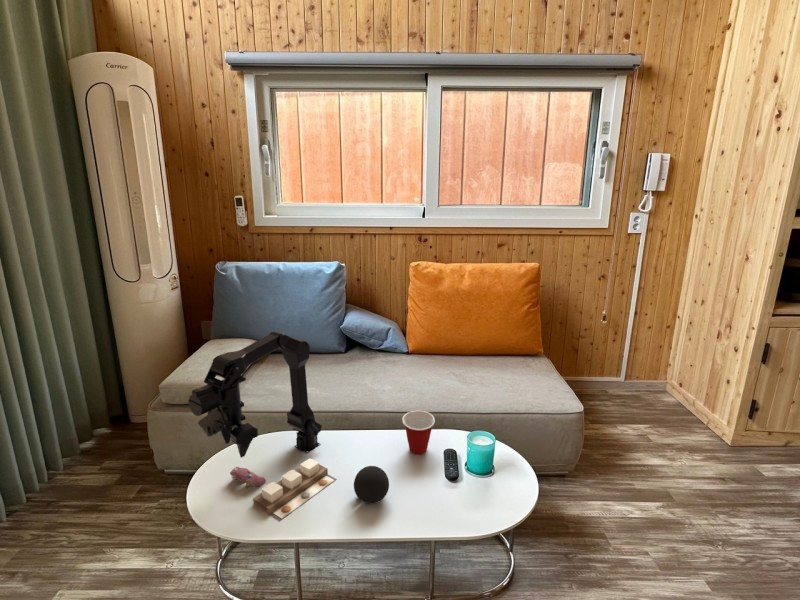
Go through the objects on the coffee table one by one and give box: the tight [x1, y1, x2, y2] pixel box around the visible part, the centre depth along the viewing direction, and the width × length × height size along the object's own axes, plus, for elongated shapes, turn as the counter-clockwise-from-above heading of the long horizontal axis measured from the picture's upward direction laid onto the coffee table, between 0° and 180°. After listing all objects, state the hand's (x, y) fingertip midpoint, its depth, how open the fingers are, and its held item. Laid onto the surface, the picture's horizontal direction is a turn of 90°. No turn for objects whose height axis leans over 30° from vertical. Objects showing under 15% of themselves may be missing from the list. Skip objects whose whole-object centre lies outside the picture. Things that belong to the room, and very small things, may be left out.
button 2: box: [299, 458, 320, 478], centre depth 141 cm, size 4×4×3 cm
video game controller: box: [229, 466, 267, 487], centre depth 138 cm, size 10×5×7 cm, turn 62°
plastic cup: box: [402, 410, 436, 456], centre depth 155 cm, size 11×11×12 cm
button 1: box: [261, 481, 283, 504], centre depth 130 cm, size 4×4×3 cm
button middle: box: [281, 469, 302, 490], centre depth 135 cm, size 4×4×3 cm
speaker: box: [353, 465, 390, 505], centre depth 132 cm, size 10×10×10 cm
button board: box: [252, 463, 338, 523], centre depth 135 cm, size 22×11×3 cm, turn 144°
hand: (234, 449), depth 132 cm, fingers open, 9 cm apart
